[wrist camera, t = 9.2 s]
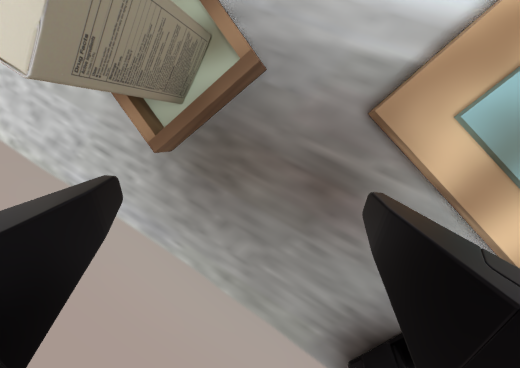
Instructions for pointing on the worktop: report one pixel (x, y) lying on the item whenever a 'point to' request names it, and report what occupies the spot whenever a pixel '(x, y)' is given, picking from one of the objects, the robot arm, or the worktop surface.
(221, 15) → the tray
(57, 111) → the worktop surface
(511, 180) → the shallow wooden box
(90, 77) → the skincare box
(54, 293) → the robot arm
